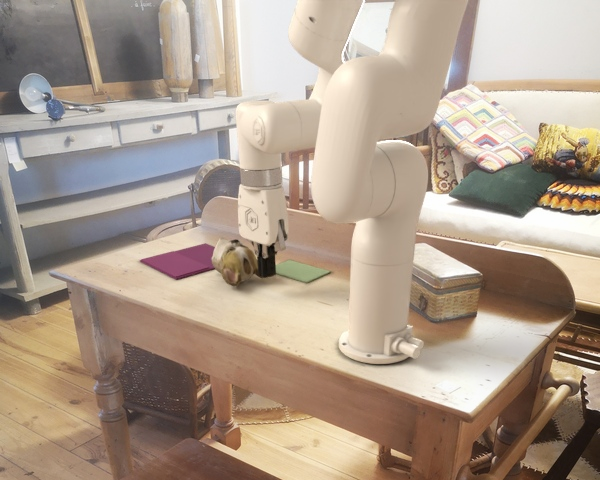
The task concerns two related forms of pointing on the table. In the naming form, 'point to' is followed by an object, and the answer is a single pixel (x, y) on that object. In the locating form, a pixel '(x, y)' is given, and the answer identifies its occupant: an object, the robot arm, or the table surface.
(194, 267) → the plum cloth
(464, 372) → the table surface
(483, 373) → the table surface
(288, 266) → the sage cloth
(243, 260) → the ceramic sculpture
